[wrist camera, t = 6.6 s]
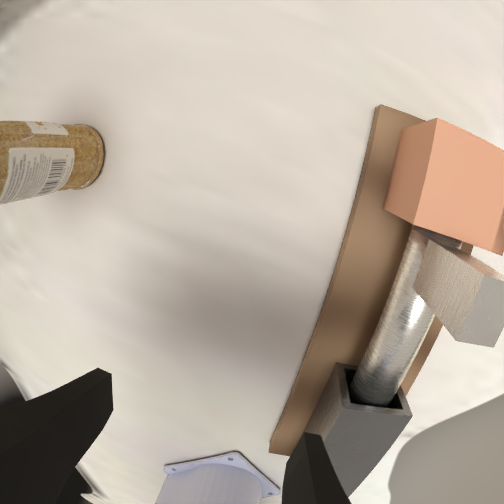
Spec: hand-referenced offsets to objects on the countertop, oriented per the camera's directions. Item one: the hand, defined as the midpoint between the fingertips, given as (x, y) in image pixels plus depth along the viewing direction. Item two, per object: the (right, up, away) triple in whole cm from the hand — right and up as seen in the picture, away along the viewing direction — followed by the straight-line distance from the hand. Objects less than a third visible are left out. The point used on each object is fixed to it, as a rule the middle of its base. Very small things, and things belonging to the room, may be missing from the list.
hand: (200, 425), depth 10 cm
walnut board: (+10, +1, +9) cm, 13 cm away
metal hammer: (+10, +3, +6) cm, 12 cm away
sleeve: (+8, -6, +10) cm, 14 cm away
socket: (+12, +10, +5) cm, 16 cm away
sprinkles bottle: (-10, +13, +9) cm, 18 cm away
